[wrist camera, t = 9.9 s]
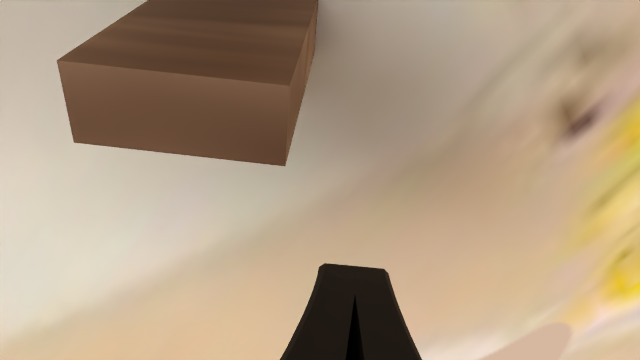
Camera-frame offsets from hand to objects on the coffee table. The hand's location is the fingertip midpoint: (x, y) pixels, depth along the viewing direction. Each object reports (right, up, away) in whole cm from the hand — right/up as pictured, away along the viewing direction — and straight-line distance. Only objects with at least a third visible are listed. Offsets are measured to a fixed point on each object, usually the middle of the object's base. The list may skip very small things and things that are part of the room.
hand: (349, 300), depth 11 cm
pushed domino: (-3, +8, +7) cm, 12 cm away
